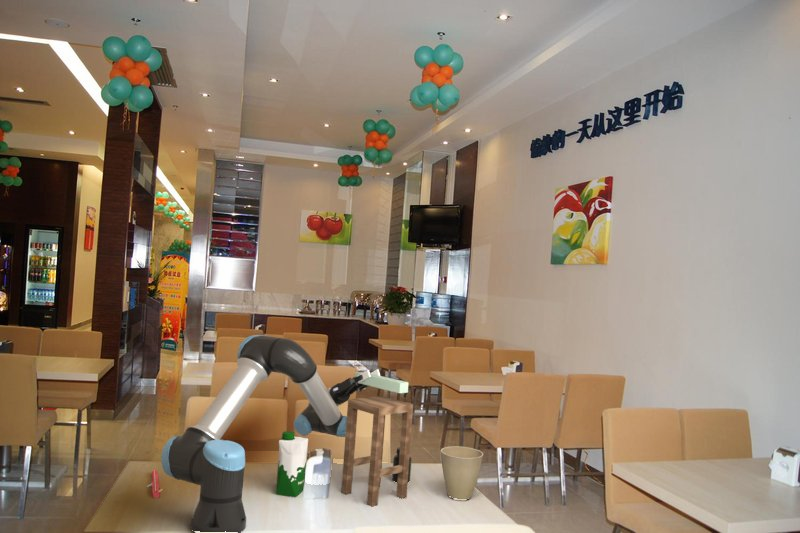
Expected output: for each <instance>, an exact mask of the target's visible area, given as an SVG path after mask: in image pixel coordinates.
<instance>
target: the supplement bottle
mask: <svg viewBox="0 0 800 533" xmlns="http://www.w3.org/2000/svg"><path fill="white" fill-rule="evenodd" d="M399 453H400V446H399V447H397V448H396V454H395V455H394V456H393V457H392V458H393V459H392V466H397V465H399ZM412 461H413V460H412V457H411V456H410V457H409V471H408V482H409V481H411V476H412V475H411V474H412V463H413V462H412ZM391 476H392V477H391V480H392V482H393V481H395V482H397V481H398V473H396V474H391ZM395 482H394V483H395ZM409 483H410V482H409Z"/></svg>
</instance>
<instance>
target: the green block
mask: <svg viewBox="0 0 800 533" xmlns="http://www.w3.org/2000/svg"><path fill="white" fill-rule="evenodd" d="M363 372H364V371H357V372H354V377H357V376H358V375H360V374H361V373H363ZM370 375H371V377H370V378H368V379H366V380H365V381H363V382H361V383H360V384H364V385H368V387H371V388H377V389H381V390H385V391H388V392H392V393H396V394H406V393H409V381H404V380H400V379H396V378H393V377H392V378H391V377H386V376H382V375H380V376H378V375H374V374H370ZM357 383H358V382H357Z"/></svg>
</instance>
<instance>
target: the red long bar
mask: <svg viewBox="0 0 800 533" xmlns="http://www.w3.org/2000/svg"><path fill="white" fill-rule="evenodd" d="M151 472H152V481H151V483H150V484H148V485H146V487H147V488H149V487H148V486H150V487H151V488H152V496H153V498H159V497H160V492H162V491H163V488H160V486H159V476H158V475H159V474H158V470H157V469H153V470H152V471H151Z"/></svg>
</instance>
